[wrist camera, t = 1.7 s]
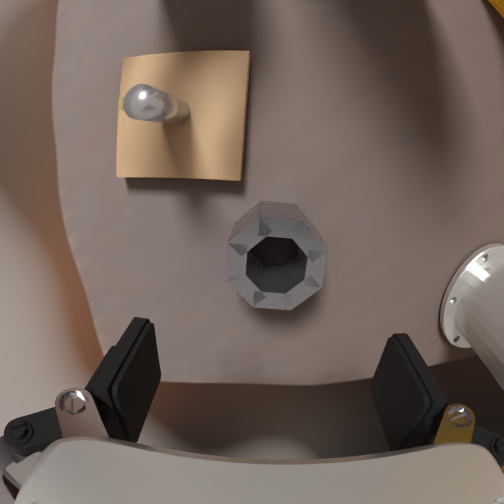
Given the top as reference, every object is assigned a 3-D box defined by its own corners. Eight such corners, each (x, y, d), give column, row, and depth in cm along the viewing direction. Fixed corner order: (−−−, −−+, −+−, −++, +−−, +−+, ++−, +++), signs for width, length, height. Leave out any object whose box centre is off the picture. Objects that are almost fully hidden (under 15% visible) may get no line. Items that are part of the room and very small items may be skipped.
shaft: (190, 99, 20) (158, 82, 13) (189, 125, 20) (155, 118, 14) (161, 100, 20) (119, 86, 13) (160, 125, 20) (117, 121, 14)
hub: (319, 206, 24) (332, 222, 19) (309, 281, 26) (317, 311, 21) (236, 199, 24) (228, 213, 19) (232, 275, 26) (225, 304, 21)
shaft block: (250, 56, 20) (249, 50, 18) (241, 178, 23) (240, 180, 22) (131, 62, 20) (123, 58, 18) (124, 175, 23) (116, 177, 22)
